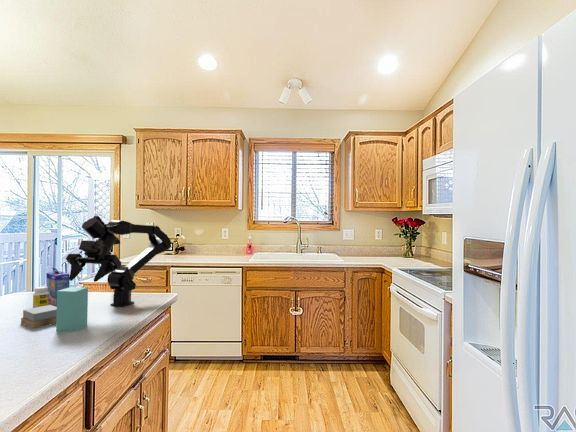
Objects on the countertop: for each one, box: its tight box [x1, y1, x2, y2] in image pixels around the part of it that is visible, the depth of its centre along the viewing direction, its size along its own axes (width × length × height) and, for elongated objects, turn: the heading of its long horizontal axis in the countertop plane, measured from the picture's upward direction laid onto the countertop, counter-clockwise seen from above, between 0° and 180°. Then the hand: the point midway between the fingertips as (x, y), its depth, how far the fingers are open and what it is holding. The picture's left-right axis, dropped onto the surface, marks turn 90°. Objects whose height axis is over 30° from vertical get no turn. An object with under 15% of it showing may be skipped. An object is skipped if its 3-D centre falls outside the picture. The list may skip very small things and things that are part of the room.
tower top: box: [22, 304, 57, 322], centre depth 113 cm, size 8×8×2 cm
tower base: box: [20, 317, 57, 329], centre depth 113 cm, size 9×9×2 cm
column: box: [55, 286, 89, 332], centre depth 108 cm, size 6×6×12 cm
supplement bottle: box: [32, 286, 49, 308], centre depth 128 cm, size 5×5×8 cm
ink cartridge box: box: [46, 267, 71, 306], centre depth 138 cm, size 10×6×14 cm, turn 54°
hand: (82, 280), depth 117 cm, fingers open, 9 cm apart
